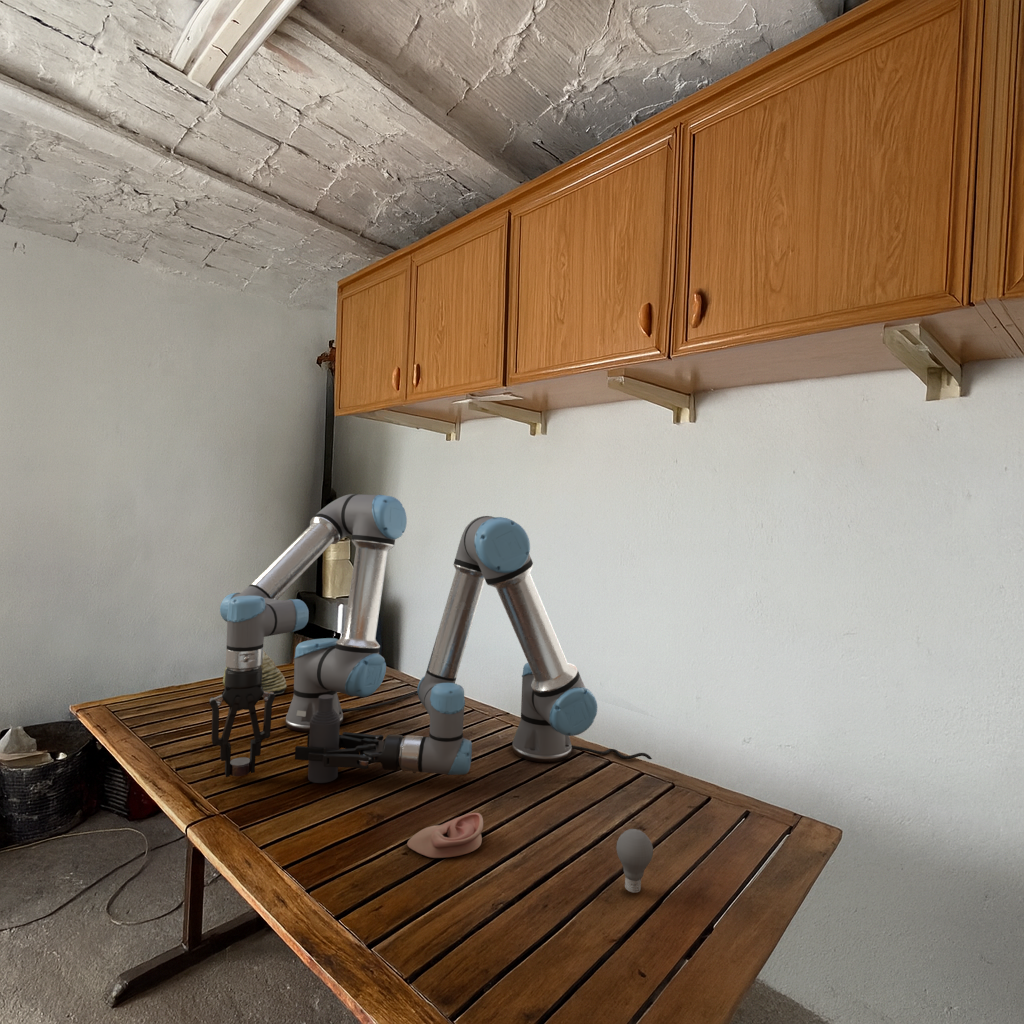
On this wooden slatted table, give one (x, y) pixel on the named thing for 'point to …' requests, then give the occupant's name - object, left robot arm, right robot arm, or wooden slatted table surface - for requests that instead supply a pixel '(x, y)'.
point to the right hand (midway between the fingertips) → (302, 746)
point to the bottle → (324, 739)
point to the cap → (240, 766)
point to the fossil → (270, 676)
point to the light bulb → (634, 857)
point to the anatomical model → (449, 837)
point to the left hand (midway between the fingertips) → (239, 772)
